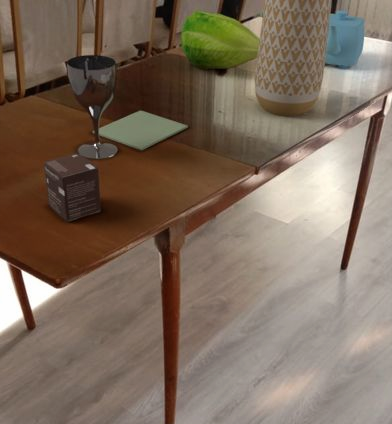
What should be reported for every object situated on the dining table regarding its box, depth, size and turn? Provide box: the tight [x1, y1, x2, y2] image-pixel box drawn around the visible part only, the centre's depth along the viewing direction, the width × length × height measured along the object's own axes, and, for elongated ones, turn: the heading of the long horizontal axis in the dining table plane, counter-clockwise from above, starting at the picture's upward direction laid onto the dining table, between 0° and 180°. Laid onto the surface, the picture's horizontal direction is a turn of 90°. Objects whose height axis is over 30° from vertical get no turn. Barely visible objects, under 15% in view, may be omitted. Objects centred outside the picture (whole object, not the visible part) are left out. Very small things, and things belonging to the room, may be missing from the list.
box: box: [42, 152, 102, 223], centre depth 94 cm, size 6×6×7 cm
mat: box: [92, 110, 189, 151], centre depth 120 cm, size 14×12×1 cm
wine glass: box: [66, 54, 119, 160], centre depth 108 cm, size 8×8×15 cm
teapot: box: [325, 9, 365, 69], centre depth 151 cm, size 12×18×12 cm
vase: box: [254, 0, 333, 117], centre depth 122 cm, size 14×14×31 cm
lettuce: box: [180, 9, 260, 70], centre depth 145 cm, size 14×20×12 cm
